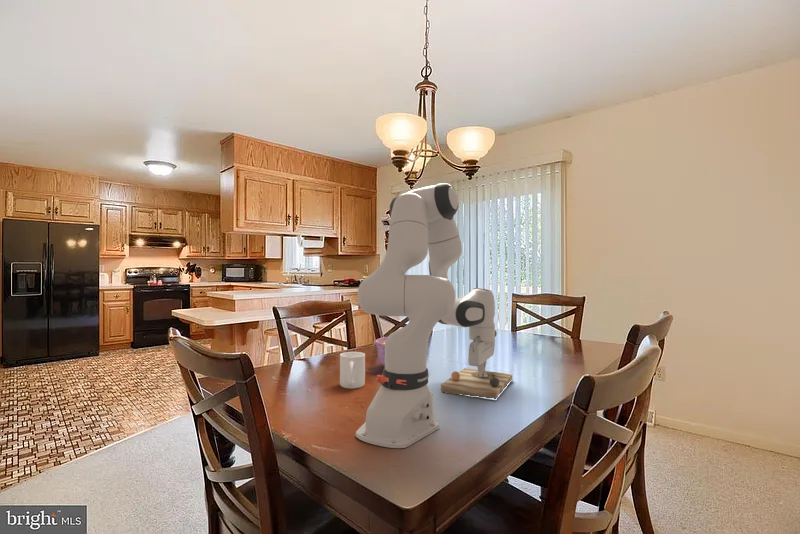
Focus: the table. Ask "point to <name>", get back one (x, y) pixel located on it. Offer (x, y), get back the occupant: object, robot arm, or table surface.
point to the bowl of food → (381, 349)
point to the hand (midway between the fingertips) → (481, 373)
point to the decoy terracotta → (455, 375)
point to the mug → (352, 370)
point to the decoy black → (494, 382)
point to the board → (476, 384)
